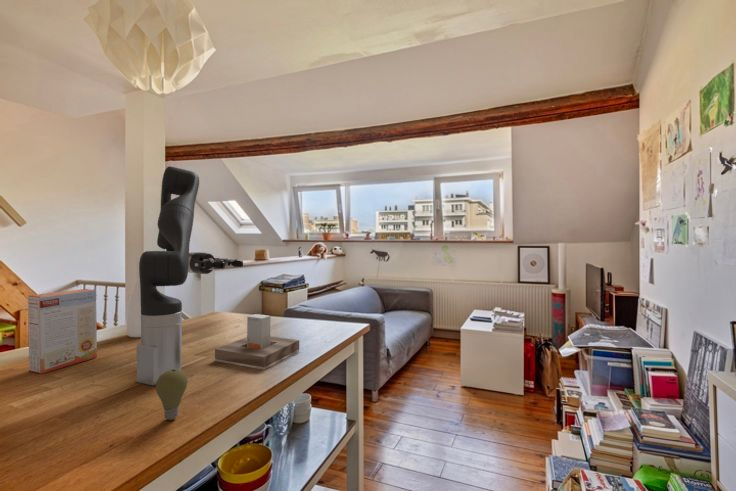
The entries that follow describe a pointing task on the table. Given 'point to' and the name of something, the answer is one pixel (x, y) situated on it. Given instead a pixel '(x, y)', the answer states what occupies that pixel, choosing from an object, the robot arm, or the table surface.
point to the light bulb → (171, 391)
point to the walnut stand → (257, 353)
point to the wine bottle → (134, 308)
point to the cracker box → (61, 329)
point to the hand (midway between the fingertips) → (233, 264)
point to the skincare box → (258, 331)
